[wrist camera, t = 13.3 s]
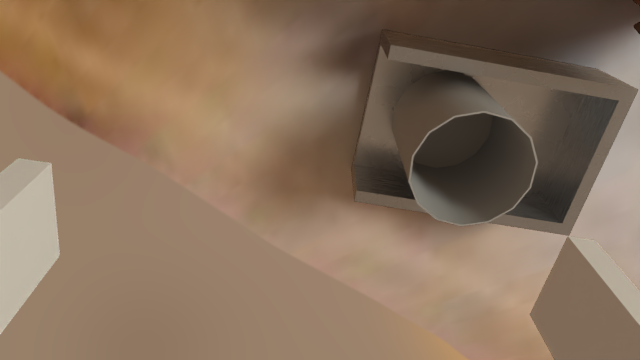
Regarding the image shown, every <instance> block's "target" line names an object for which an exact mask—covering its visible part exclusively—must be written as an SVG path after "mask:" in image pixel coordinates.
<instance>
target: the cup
mask: <svg viewBox="0 0 640 360" xmlns="http://www.w3.org/2000/svg"><path fill="white" fill-rule="evenodd" d="M392 131H393V134H394V137H395V141H396V144H397V147H398V150H399V153H400V156H401V160H402V163H403V166H404V169H405V172H406V175H407V179H408V182H409V184H410V187H411V190H412V192H413V195H414V197H415V200H416V202H417V204H418V205H419V206H420V207H421V208H422V209H424V210H425V211H426V212H427V213H428V214H430V215H431V216H432V217H433V218H434V219H436V220H438V221H442V222H446V223H450V224H454V225H458V226H467V225H475V224H482V223H489V222H491V221H492V220H494V219H496V218H498V217H500V216H502V215H503V214H505V213H507V212H509V211H511V210H512V209H514V208H515V207H516V205H517V204H518V203H519V202H520V201H521V199H522V198H523V197H524V196H525V194H526V193H527V192H528V191H529V190H530V188H531V187H532V183H533V179H534V175H535V172H536V168H537V164H538V160H537V156H536V152H535V148H534V144H533V140H532V137H531V136H530V135H529V134H528V133H527V132H526V131H525V130H524V129H523V128H522V127H521V126H520V125H519V124H518V123H517V122H516V121H515V120H514V119H513V118H512V117H511V116H510V115H509V114H508V113H507V112H506V111H505V110H504V109H503V108H502V107H501V106H500V105H499V104H498V103H497V102H496V101H495V100H494V99H493V98H492V97H491V96H490V95H489V94H488V93H487V92H486V91H485V90H484V89H483V88H482V87H481V86H480V85H479V84H478V83H477V82H476V81H475V80H474V79H473V78H472V77H470V76H466V75H463V74H459V73H456V72H452V71H446V72H440V73H434V74H429V75H426V76H424V77H423V78H421V79H420V80H418V81H417V82H415V83H413V84H412V85H410V86H409V87H407V88H406V90H405V91H404V93H403V94H402V96H401V98H400V99H399V101H398V102H397V104H396V106H395V107H394V114H393V122H392Z"/></svg>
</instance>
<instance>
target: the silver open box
mask: <svg viewBox="0 0 640 360" xmlns="http://www.w3.org/2000/svg"><path fill="white" fill-rule="evenodd" d="M446 71H452V72H456V73H459V74H463V75H466V76H470V77H472V78H473V79H474V80H475V81H476V82H477V83H478V84H479V85H480V86H481V87H482V88H483V89H484V90H485V91H486V92H487V93H488V94H489V95H490V96H491V97H492V98H493V99H494V100H495V101H496V102H497V103H498V104H499V105H500V106H501V107H502V108H503V109H504V110H505V111H506V112H507V113H508V114H509V115H510V116H511V117H512V118H513V119H514V120H515V121H516V122H517V123H518V124H519V125H520V126H521V127H522V128H523V129H524V130H525V131H526V132H527V133H528V134H529V135H530V136H531V137H532V140H533V144H534V148H535V152H536V156H537V160H538V164H537V168H536V172H535V175H534V179H533V183H532V187H531V188H530V190H529V191H528V192H527V193H526V194H525V196H524V197H523V198H522V199H521V201H520V202H519V203H518V204H517V205H516V207H515V208H514V209H512V210H511V211H509V212H507V213H505V214H503V215H502V216H500V217H498V218H496V219H494V220H492V221H491V222H489V223H493V224H499V225H505V226H511V227H518V228H524V229H530V230H537V231H543V232H549V233H555V234H562V235H568V236H569V235H570V233H571V230H572V228H573V226H574V224H575V222H576V220H577V218H578V216H579V214H580V212H581V209H582V207H583V205H584V203H585V201H586V199H587V197H588V195H589V193H590V191H591V188H592V186H593V184H594V182H595V180H596V178H597V176H598V174H599V172H600V170H601V167H602V165H603V163H604V161H605V159H606V157H607V155H608V153H609V151H610V149H611V146H612V144H613V142H614V140H615V138H616V136H617V134H618V132H619V130H620V128H621V125H622V123H623V121H624V119H625V117H626V115H627V113H628V111H629V109H630V107H631V104H632V102H633V100H634V98H635V96H636V94H637V92H638V89H636V88H634V87H632V86H630V85H628V84H626V83H624V82H622V81H621V80H619V79H617V78H615V77H613V76H611V75H609V74H607V73H605V72H603V71H601V70H599V69H596V68H590V67H585V66H579V65H574V64H568V63H563V62H557V61H552V60H546V59H541V58H535V57H530V56H524V55H519V54H514V53H508V52H503V51H497V50H492V49H486V48H481V47H475V46H470V45H464V44H459V43H453V42H448V41H442V40H437V39H431V38H426V37H420V36H415V35H409V34H404V33H399V32H393V31H388V30H382V34H381V38H380V43H379V47H378V52H377V56H376V61H375V65H374V70H373V74H372V79H371V83H370V88H369V92H368V97H367V101H366V106H365V110H364V115H363V119H362V124H361V128H360V133H359V137H358V141H357V146H356V150H355V155H354V159H353V164H352V168H351V171H352V182H353V192H354V201H355V202H361V203H367V204H374V205H380V206H386V207H393V208H399V209H405V210H411V211H418V212H424V213H427V212H426V211H425V210H424V209H422V208H421V207H420V206H419V205H418V204H417V202H416V200H415V197H414V195H413V192H412V190H411V187H410V184H409V182H408V179H407V175H406V172H405V169H404V166H403V163H402V160H401V156H400V153H399V150H398V147H397V144H396V141H395V137H394V134H393V131H392V122H393V114H394V107H395V106H396V104H397V102H398V101H399V99H400V98H401V96H402V94H403V93H404V91H405V90H406V88H407V87H409V86H410V85H412V84H413V83H415V82H417V81H418V80H420V79H421V78H423V77H424V76H426V75H429V74H434V73H440V72H446Z"/></svg>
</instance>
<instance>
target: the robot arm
mask: <svg viewBox="0 0 640 360" xmlns="http://www.w3.org/2000/svg"><path fill="white" fill-rule="evenodd" d="M59 256H60V252H59V241H58V231H57V219H56V208H55V198H54V187H53V176H52V165H51V163H48V162H41V161H33V160H27V159H20V158H18V159H17V160H15V161H14V162H13V163H12V164H10V165H9V166H8V167H7V168H5V169H4V170H3V171H2V172H0V334H1V333H2V331H3V330H4V329H5V327H6V326H7V325H8V324H9V322H10V321H11V320H12V318H13V317H14V316H15V314H16V313H17V312H18V310H19V309H20V307H21V306H22V305H23V304H24V302H25V301H26V300H27V298H28V297H29V296H30V294H31V293H32V292H33V290H34V289H35V288H36V286H37V285H38V284H39V282H40V281H41V280H42V278H43V277H44V276H45V275H46V273H47V272H48V270H49V269H50V268H51V267H52V265H53V264H54V263H55V261H56V260H57V259H58V257H59ZM530 316H531V318H532V320H533V321H534V323H535V325H536V327H537V329H538V331H539V332H540V334H541V336H542V338H543V340H544V341H545V343H546V345H547V347H548V349H549V351H550V352H551V354H552V356H553V358H554V360H640V290H639V289H638V288H637V287H636V286H635V285H634V284H633V282H632V281H631V280H630V279H629V278H628V277H627V276H626V274H625V273H624V272H623V271H622V270H621V269H620V268H619V267H618V265H617V264H616V263H615V262H614V261H613V260H612V259H611V257H610V256H609V255H608V254H607V253H606V252H605V251H604V249H603V248H602V247H601V246H600V245H599V244H598V243H597V242H596V240H591V239H584V238H577V237H570V236H568V237H567V239H566V241H565V243H564V245H563V247H562V249H561V251H560V253H559V255H558V258H557V260H556V262H555V264H554V266H553V268H552V270H551V272H550V274H549V276H548V278H547V280H546V282H545V284H544V286H543V288H542V290H541V292H540V294H539V297H538V299H537V301H536V303H535V305H534V307H533V309H532V311H531V313H530Z"/></svg>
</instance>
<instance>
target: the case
mask: <svg viewBox="0 0 640 360" xmlns="http://www.w3.org/2000/svg"><path fill="white" fill-rule="evenodd" d="M633 1H634V2H635V3H636V4H638V5H639V6H640V0H633ZM634 28H635V29H636V30H637V31H638V33H639V34H640V22H638V23H637V24H635V25H634Z"/></svg>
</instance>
